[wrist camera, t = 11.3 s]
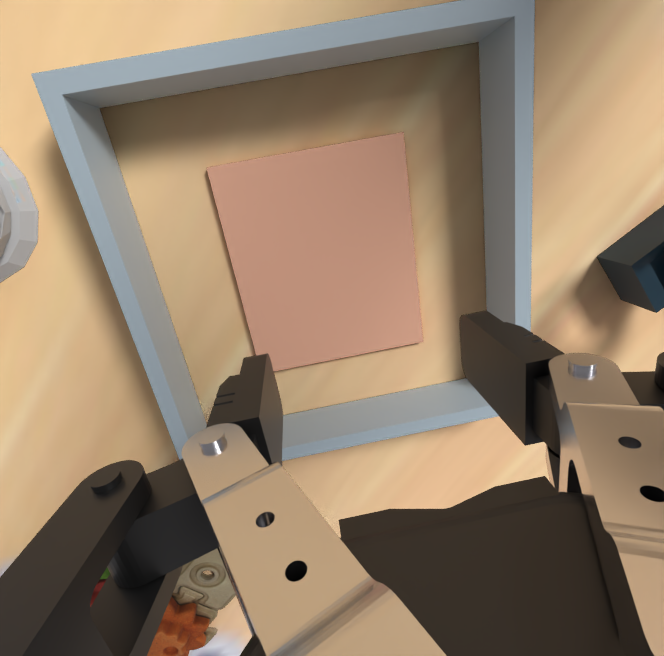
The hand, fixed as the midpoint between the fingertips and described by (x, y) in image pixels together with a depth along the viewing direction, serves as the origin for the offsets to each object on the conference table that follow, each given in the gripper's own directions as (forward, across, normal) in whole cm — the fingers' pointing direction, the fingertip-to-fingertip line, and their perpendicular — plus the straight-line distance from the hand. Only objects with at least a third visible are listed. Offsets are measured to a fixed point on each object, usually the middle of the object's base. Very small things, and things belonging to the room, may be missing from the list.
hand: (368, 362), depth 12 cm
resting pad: (+16, 0, 0) cm, 16 cm away
